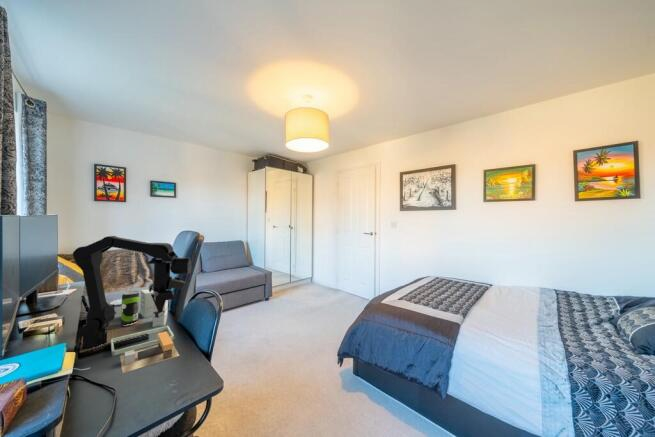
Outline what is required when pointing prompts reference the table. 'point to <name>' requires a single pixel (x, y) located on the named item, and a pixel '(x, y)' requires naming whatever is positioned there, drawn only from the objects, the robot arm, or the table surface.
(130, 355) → the lead
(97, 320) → the robot arm
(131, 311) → the beverage can
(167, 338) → the bar
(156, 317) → the ink box
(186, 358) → the table surface
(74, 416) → the table surface
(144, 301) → the supplement box
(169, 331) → the tray
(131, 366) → the tie board
